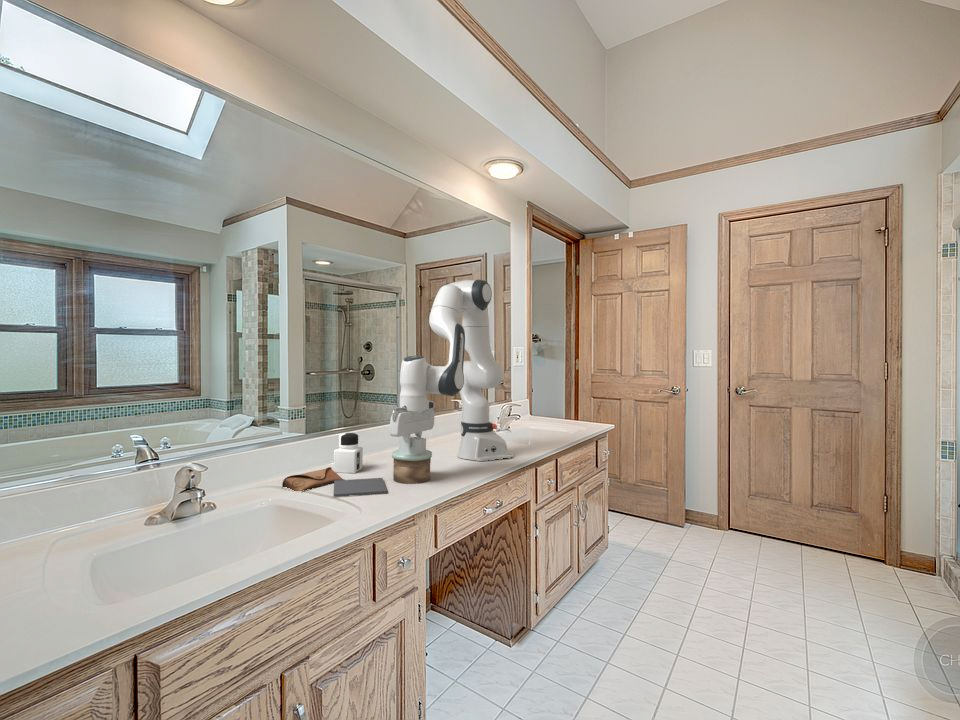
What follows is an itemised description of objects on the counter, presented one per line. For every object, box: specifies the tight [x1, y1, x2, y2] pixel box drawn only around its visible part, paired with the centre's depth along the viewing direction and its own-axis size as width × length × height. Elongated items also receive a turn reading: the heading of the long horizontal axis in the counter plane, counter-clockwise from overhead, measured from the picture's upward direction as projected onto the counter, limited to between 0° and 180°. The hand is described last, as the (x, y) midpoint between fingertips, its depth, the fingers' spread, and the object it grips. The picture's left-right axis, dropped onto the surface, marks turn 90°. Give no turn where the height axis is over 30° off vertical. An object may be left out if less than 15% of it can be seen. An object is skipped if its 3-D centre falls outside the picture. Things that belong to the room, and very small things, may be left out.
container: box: [332, 432, 364, 474], centre depth 161 cm, size 8×8×13 cm
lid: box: [391, 435, 433, 461], centre depth 152 cm, size 13×13×8 cm
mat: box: [333, 477, 388, 497], centre depth 140 cm, size 15×15×1 cm
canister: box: [392, 457, 432, 485], centre depth 152 cm, size 12×12×8 cm
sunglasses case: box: [281, 466, 345, 492], centre depth 144 cm, size 18×7×7 cm, turn 147°
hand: (412, 446), depth 152 cm, fingers closed on lid, 3 cm apart
